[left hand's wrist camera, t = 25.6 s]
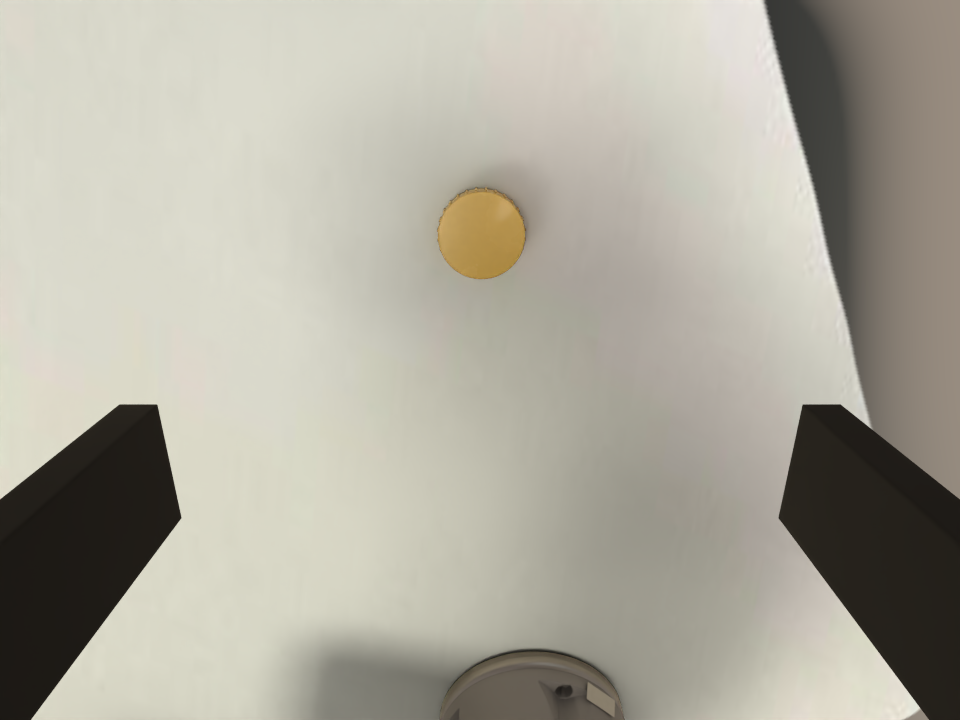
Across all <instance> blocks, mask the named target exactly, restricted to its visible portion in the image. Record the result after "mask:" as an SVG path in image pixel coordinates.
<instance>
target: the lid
mask: <svg viewBox="0 0 960 720" xmlns="http://www.w3.org/2000/svg"><path fill="white" fill-rule="evenodd" d="M519 212H520V211H519V208H518V207H517V208H516V206H515V205H514V203H513V200H512V199H511V200H510V199H509V198H507V197H506V195H505V194H501V193H499V192H497V190H496V189H495V190H491V189H487V187H485V189H484V188H480V189H477V187H475V189H472V190H469V191H468V190H466V191H465V192H464V193H462V194H460V195H459V194H457V197H456V198H455V199H453V200H452V201H451V200H450V202H449V205H448V206H447V208H444V210H443V216H442V217H440V220H439V222H440V224H439V227H438V229H437V232H438V242H439V247H440V251H441V252H442V255H443V257H444V259H445V260H446V261H447V263H448V264H449V265H450V266H451V267H452V268H453V269H454V270H456V271H457V272H459V273H460V274H462V275H464V276H467V277H470V278H475V279H488V278H493V277H496V276H498V275H501V274H503V273H504V272H506V271H507V270H508V269H510V268H511V267H512V266H513V265H514V264H515V262H516V261H517V260H518V259H519V256H520V255H521V252H522V250H523V246H524V241H525V240H526V239H525V231H526V229H525V226H524V224H523V221H524V220H523V217H522V216H520V214H519Z"/></svg>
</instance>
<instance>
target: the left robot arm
mask: <svg viewBox="0 0 960 720" xmlns="http://www.w3.org/2000/svg"><path fill="white" fill-rule="evenodd" d="M180 519H181V514H180V509H179V504H178V500H177V495H176V490H175V486H174V481H173V476H172V471H171V467H170V462H169V457H168V453H167V448H166V443H165V439H164V434H163V429H162V425H161V420H160V415H159V411H158V406H157V405H118V406H117V407H116V408H115V409H113V410H112V411H111V412H110V413H108V414H107V415H106V416H105V417H103V418H102V419H101V420H100V421H98V422H97V423H96V424H95V425H93V426H92V427H91V428H89V429H88V430H87V431H86V432H84V433H83V434H82V435H81V436H79V437H78V438H77V439H76V440H74V441H73V442H72V443H71V444H69V445H68V446H67V447H66V448H64V449H63V450H62V451H61V452H59V453H58V454H57V455H56V456H54V457H53V458H52V459H51V460H49V461H48V462H47V463H45V464H44V465H43V466H42V467H40V468H39V469H38V470H37V471H35V472H34V473H33V474H32V475H30V476H29V477H28V478H27V479H25V480H24V481H23V482H22V483H20V484H19V485H18V486H17V487H15V488H14V489H13V490H12V491H10V492H9V493H8V494H7V495H5V496H4V497H3V498H1V499H0V720H31V719H32V717H33V716H34V715H35V713H36V712H37V711H38V709H39V708H40V707H41V705H42V704H43V703H44V701H45V700H46V699H47V697H48V696H49V695H50V693H51V692H52V691H53V689H54V688H55V687H56V685H57V684H58V683H59V681H60V680H61V679H62V677H63V676H64V675H65V673H66V672H67V671H68V669H69V668H70V667H71V665H72V664H73V663H74V661H75V660H76V659H77V657H78V656H79V654H80V653H81V652H82V650H83V649H84V648H85V646H86V645H87V644H88V642H89V641H90V640H91V638H92V637H93V636H94V634H95V633H96V632H97V630H98V629H99V628H100V626H101V625H102V624H103V622H104V621H105V620H106V618H107V617H108V616H109V614H110V613H111V612H112V610H113V609H114V608H115V606H116V605H117V604H118V602H119V601H120V600H121V598H122V597H123V596H124V594H125V593H126V592H127V590H128V589H129V588H130V586H131V585H132V583H133V582H134V581H135V579H136V578H137V577H138V575H139V574H140V573H141V571H142V570H143V569H144V567H145V566H146V565H147V563H148V562H149V561H150V559H151V558H152V557H153V555H154V554H155V553H156V551H157V550H158V549H159V547H160V546H161V545H162V543H163V542H164V541H165V539H166V538H167V537H168V535H169V534H170V533H171V531H172V530H173V529H174V527H175V526H176V525H177V523H178V522H179V521H180ZM779 519H780V521H781V522H782V523H783V525H784V526H785V527H786V529H787V530H788V531H789V533H790V534H791V535H792V537H793V538H794V539H795V541H796V542H797V543H798V545H799V546H800V547H801V549H802V550H803V551H804V553H805V554H806V555H807V557H808V558H809V559H810V561H811V562H812V563H813V565H814V566H815V567H816V569H817V570H818V571H819V573H820V574H821V575H822V577H823V578H824V579H825V581H826V582H827V583H828V585H829V586H830V588H831V589H832V590H833V592H834V593H835V594H836V596H837V597H838V598H839V600H840V601H841V602H842V604H843V605H844V606H845V608H846V609H847V610H848V612H849V613H850V614H851V616H852V617H853V618H854V620H855V621H856V622H857V624H858V625H859V626H860V628H861V629H862V630H863V632H864V633H865V634H866V636H867V637H868V638H869V640H870V641H871V642H872V644H873V645H874V646H875V648H876V649H877V650H878V652H879V653H880V654H881V656H882V657H883V659H884V660H885V661H886V663H887V664H888V665H889V667H890V668H891V669H892V671H893V672H894V673H895V675H896V676H897V677H898V679H899V680H900V681H901V683H902V684H903V685H904V687H905V688H906V689H907V691H908V692H909V693H910V695H911V696H912V697H913V699H914V700H915V701H916V703H917V704H918V705H919V707H920V708H921V709H922V711H923V712H924V713H925V715H926V716H927V717H928V719H929V720H960V499H959V498H957V497H956V496H955V495H953V494H952V493H951V492H950V491H948V490H947V489H946V488H945V487H943V486H942V485H941V484H940V483H938V482H937V481H936V480H935V479H933V478H932V477H931V476H930V475H928V474H927V473H926V472H925V471H923V470H922V469H921V468H920V467H918V466H917V465H916V464H915V463H913V462H912V461H911V460H909V459H908V458H907V457H906V456H904V455H903V454H902V453H901V452H899V451H898V450H897V449H896V448H894V447H893V446H892V445H891V444H889V443H888V442H887V441H886V440H884V439H883V438H882V437H881V436H879V435H878V434H877V433H876V432H874V431H873V430H872V429H871V428H869V427H868V426H867V425H865V424H864V423H863V422H862V421H860V420H859V419H858V418H857V417H855V416H854V415H853V414H852V413H850V412H849V411H848V410H847V409H845V408H844V407H843V406H842V405H803V406H802V411H801V415H800V420H799V425H798V429H797V434H796V439H795V443H794V448H793V453H792V457H791V462H790V467H789V471H788V476H787V481H786V485H785V490H784V495H783V500H782V504H781V509H780V514H779ZM440 720H624V716H623V712H622V707H621V703H620V700H619V697H618V695H617V693H616V691H615V689H614V688H613V686H612V685H611V683H610V682H609V681H608V680H607V679H606V678H605V677H604V676H603V675H602V674H601V673H600V672H598V671H597V670H596V669H594V668H593V667H591V666H589V665H588V664H586V663H584V662H582V661H579V660H577V659H574V658H572V657H568V656H565V655H561V654H556V653H550V652H538V651H536V652H518V653H511V654H506V655H502V656H499V657H495V658H492V659H490V660H487V661H485V662H483V663H481V664H479V665H477V666H475V667H473V668H472V669H470V670H469V671H467V672H466V673H465V674H463V675H462V676H461V677H460V678H459V679H458V680H457V681H456V682H455V683H454V684H453V685H452V687H451V688H450V689H449V691H448V692H447V694H446V696H445V698H444V701H443V703H442V707H441V711H440Z"/></svg>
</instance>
